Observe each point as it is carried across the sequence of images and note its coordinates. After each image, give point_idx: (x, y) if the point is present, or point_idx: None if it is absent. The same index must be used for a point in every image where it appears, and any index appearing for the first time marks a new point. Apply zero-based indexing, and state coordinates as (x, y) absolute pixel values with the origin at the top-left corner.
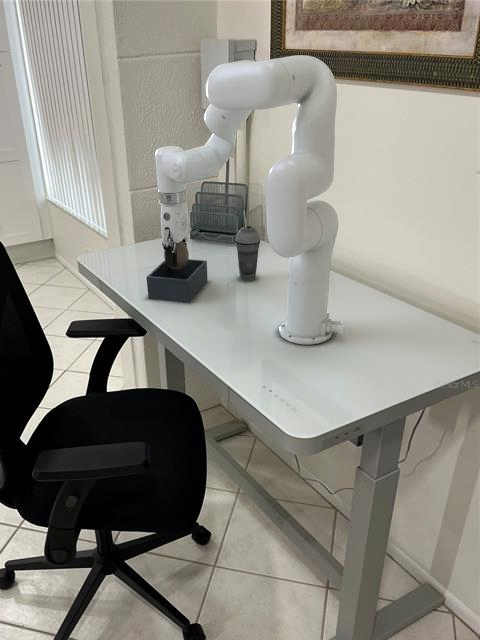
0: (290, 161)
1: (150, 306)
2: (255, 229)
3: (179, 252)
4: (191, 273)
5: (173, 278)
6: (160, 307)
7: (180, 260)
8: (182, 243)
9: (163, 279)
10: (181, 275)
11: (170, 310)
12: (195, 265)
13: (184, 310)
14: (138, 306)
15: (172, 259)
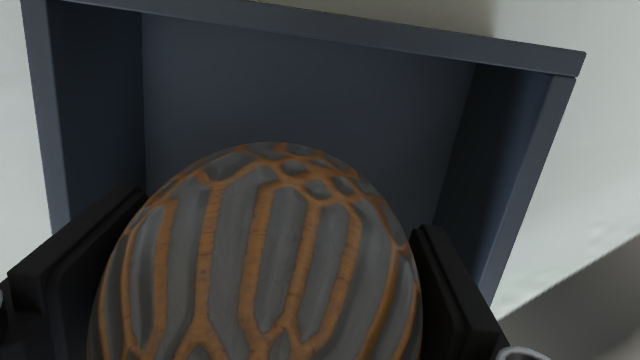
0: None
1: (520, 246)
2: None
3: (403, 284)
4: (124, 111)
5: (514, 197)
6: (538, 195)
7: (394, 216)
8: (260, 339)
9: (500, 266)
10: (137, 176)
11: (586, 133)
12: (84, 87)
13: (599, 48)
14: (515, 298)
15: (487, 307)
